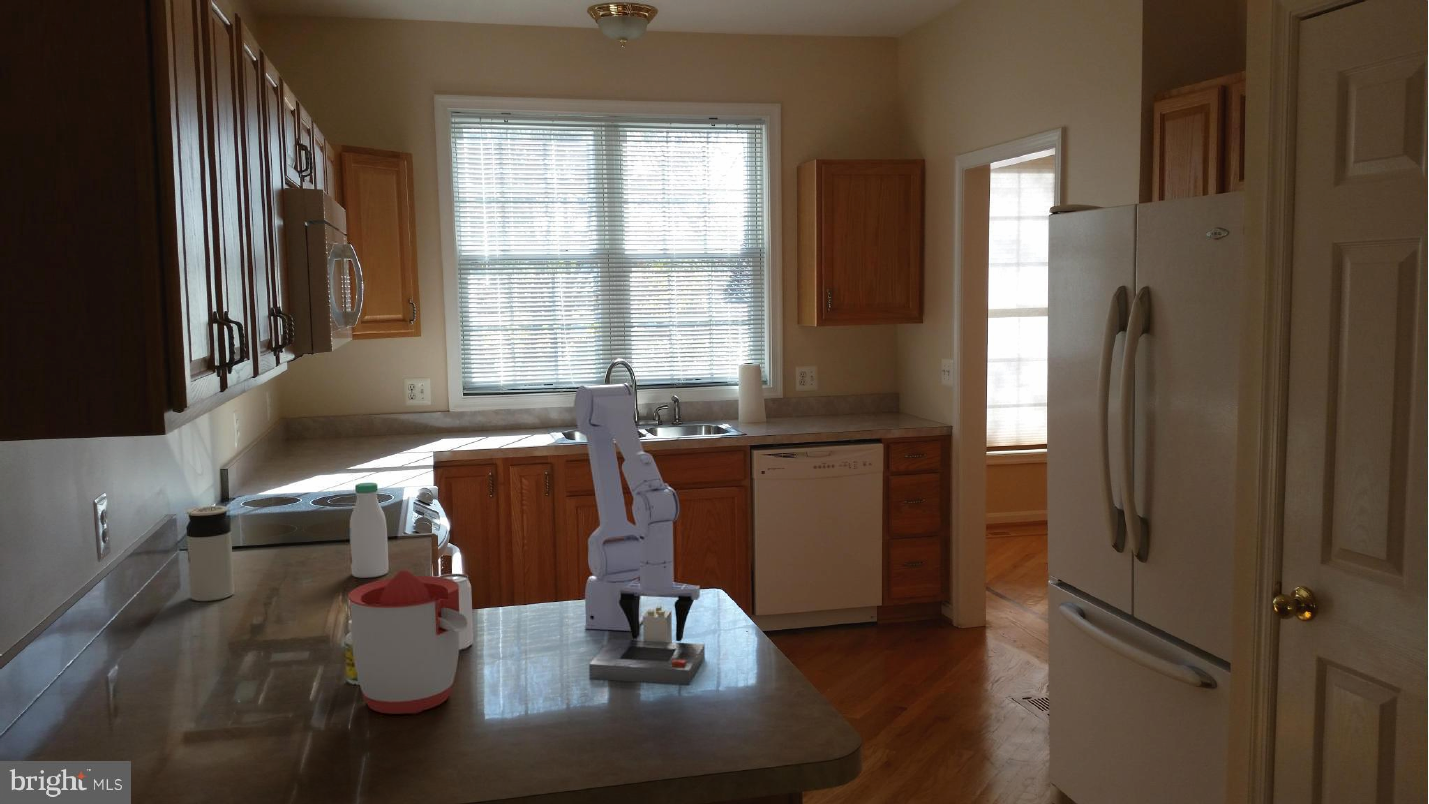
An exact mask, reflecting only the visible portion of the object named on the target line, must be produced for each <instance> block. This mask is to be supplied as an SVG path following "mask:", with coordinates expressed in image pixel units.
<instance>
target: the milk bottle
mask: <svg viewBox="0 0 1429 804" xmlns="http://www.w3.org/2000/svg"><path fill="white" fill-rule="evenodd" d="M378 489H379V488H378V483H376V482H360V483H357V484H355V486H354V491H355V495H356V501H355V505H354V507H353V510H352V512H351V514H350V520H349V545H350V548H349V549H350V567H351V574H352V577H354V578H358V579H359V578H361V579H365V578H367V579H368V578H376V577H381V576H384V575H386V574H388V572H389V547H388V545H389V544H388V528H387V519H386V515H385V512H384V510H383V508H382V507H381V505H380V503H379V500H378V495H377V494H378Z"/></svg>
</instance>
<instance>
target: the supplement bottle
mask: <svg viewBox="0 0 1429 804" xmlns="http://www.w3.org/2000/svg"><path fill="white" fill-rule="evenodd" d="M348 630H349V631H350V632H348V634H346V636H345V638H344V647H345V648H344V649H345V666H346V681H347V682H348V683H349V684H352V685H354V684H356V686H360V684H359V681H358V678H357V674H356V670H355V665H354V656H353V640H352V619H350V620H349V621H348Z"/></svg>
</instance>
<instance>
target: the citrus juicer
mask: <svg viewBox="0 0 1429 804" xmlns="http://www.w3.org/2000/svg"><path fill="white" fill-rule="evenodd" d="M348 601H350V612H351V613H350V614H351V619H352V640H353V656H354V665H355V670H356V674H357V678H358V681H359V684H360V685H359V687H360V690H361V694H362V696H363V698H364V700H365V702H366V704H367V706H368V707H369V708H370V709H371V710H373V711H375V712H379V713H383V714H389V715H390V714H391V715H398V714H399V715H402V714H410V715H417V714H420V713H422V712H423V711H426V710H430V709H432V708H434V707H437V706H440V705H441V704H442V703H444V702H445V701H446V700H447V699H449V696H450V693H451V691H452V689H453V686H454V683H455V676H456V673H457V667H458V662H459V661H458V660H459V654H460V652H459V632H460V631H462V630H464V629H465V628H466V627H467V619H466V617H465V616H464V615H463V614H461V613H459V585H458V584H457V583H456V582H455V581H453V580H450V579H447V578H442V577H438V576H429V575H428V576H427V575H426V576H425V575H414V574H413V573H412V572H410V571H408V570H407V569H401V570H400V571H399V572H398V573H397V574H395V575H394V576H393V577H392V578H385V579H380V580H377V581H376V580H375V581H371V582H369V583H366V584H363V585H359V586H357V587H355V588H353V590H351V591H350V592H349V594H348ZM351 619H350V620H351ZM419 712H420V713H419ZM416 713H417V714H416Z"/></svg>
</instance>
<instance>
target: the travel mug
mask: <svg viewBox="0 0 1429 804" xmlns="http://www.w3.org/2000/svg"><path fill="white" fill-rule="evenodd" d="M228 510H229V508H228V507H227V506H224V505H208V506H199V507H194V508H191V509H188V510H187V511H186V514H187V515H188V519H189V521H188V524H187V525H186V527H185V528H186V541H187V545H186V546H187V556H188V557H187V558H188V560H187V561H188V573H189V574H188V575H189V576H188V577H189V589H190V590H189V592H190V599H191V600H194V601H196V602H213V601H214V602H215V601H221V600H225V599H228V598H229V597H231V596H233V595H234V594H235V582H234V578H235V577H234V564H233V563H234V562H233V547H232V545H233V543H232V533H231V532H232V531H231V527H232V526H231V522H230V520H229V519H228V518H227V513H228Z"/></svg>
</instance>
